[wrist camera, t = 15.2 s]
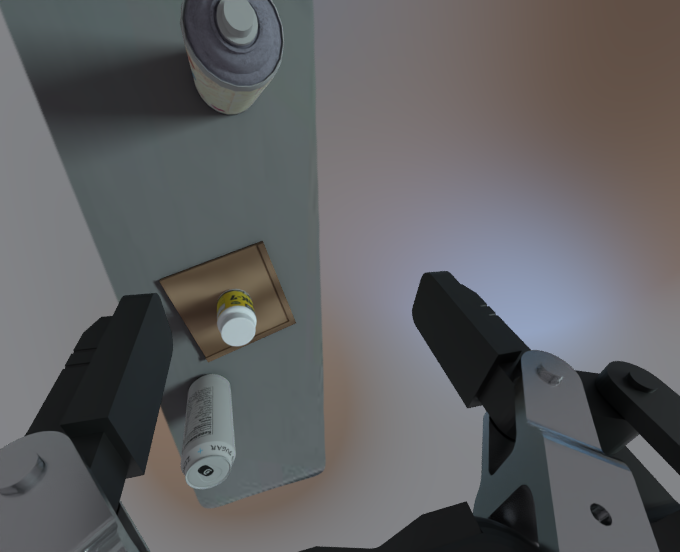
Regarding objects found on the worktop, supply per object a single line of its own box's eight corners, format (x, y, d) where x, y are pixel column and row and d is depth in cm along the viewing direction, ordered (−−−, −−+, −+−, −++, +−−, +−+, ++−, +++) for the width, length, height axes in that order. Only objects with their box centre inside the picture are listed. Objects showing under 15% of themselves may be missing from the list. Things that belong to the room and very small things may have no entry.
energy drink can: (206, 408, 49) (204, 500, 36) (179, 388, 46) (166, 479, 33) (238, 386, 50) (246, 467, 37) (213, 363, 47) (213, 444, 34)
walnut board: (160, 279, 40) (159, 282, 39) (262, 240, 43) (263, 242, 42) (208, 358, 46) (208, 362, 45) (294, 319, 49) (295, 323, 48)
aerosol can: (203, 31, 33) (192, -102, 16) (264, 67, 36) (311, -12, 19) (186, 96, 34) (158, 39, 17) (246, 125, 38) (275, 102, 20)
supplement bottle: (257, 295, 45) (266, 323, 38) (242, 322, 45) (247, 354, 38) (226, 282, 43) (229, 309, 35) (210, 310, 43) (210, 342, 36)
